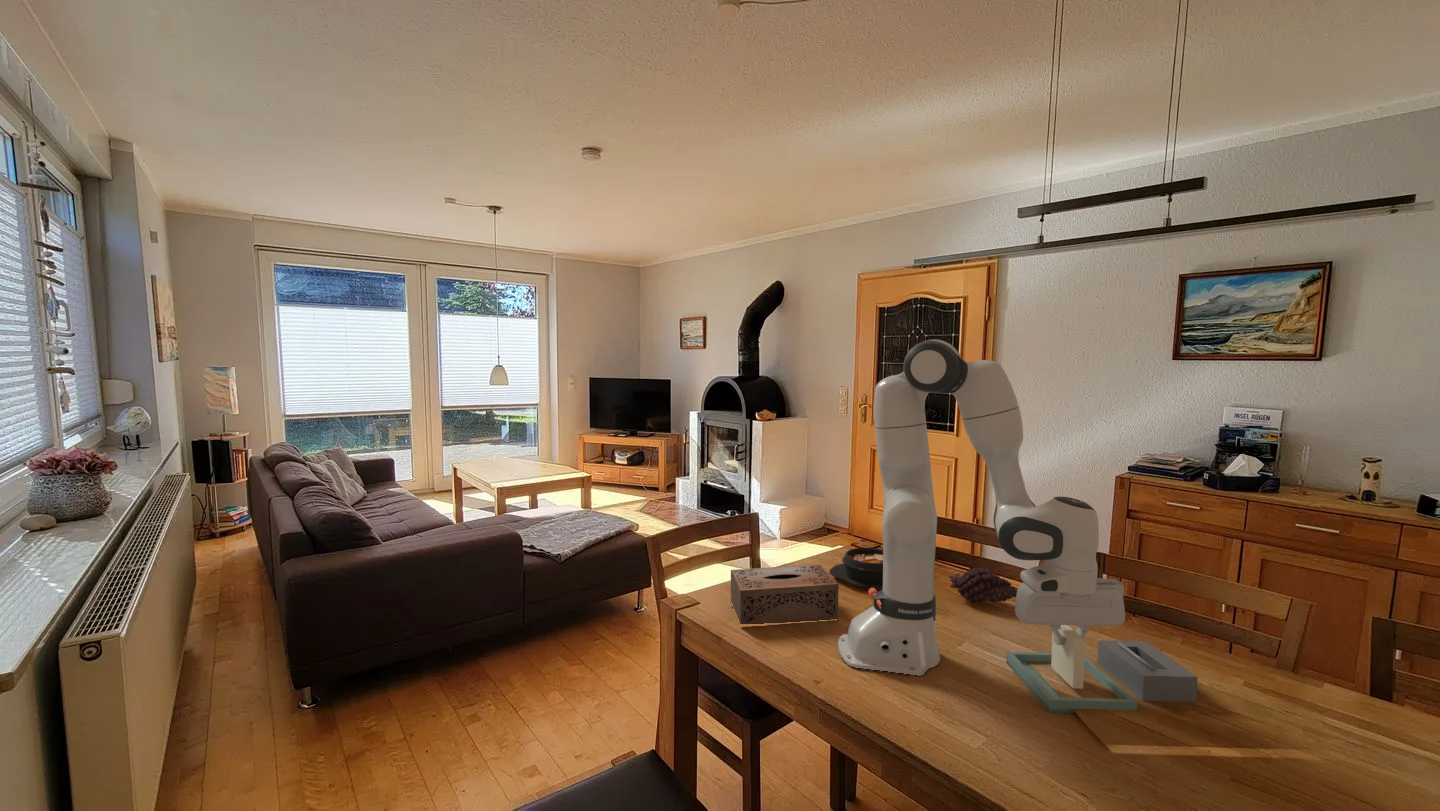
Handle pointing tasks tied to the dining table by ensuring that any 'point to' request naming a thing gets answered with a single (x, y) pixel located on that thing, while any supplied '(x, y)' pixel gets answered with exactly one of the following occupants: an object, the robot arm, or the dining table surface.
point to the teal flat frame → (1051, 696)
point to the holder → (1147, 671)
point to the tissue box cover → (784, 594)
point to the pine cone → (982, 586)
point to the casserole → (861, 568)
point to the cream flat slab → (1069, 657)
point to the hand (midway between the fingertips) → (1067, 643)
